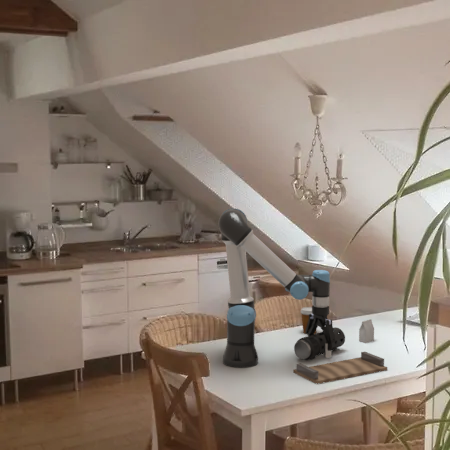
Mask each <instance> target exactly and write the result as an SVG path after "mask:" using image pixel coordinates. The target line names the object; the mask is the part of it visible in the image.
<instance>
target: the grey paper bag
mask: <svg viewBox="0 0 450 450" xmlns="http://www.w3.org/2000/svg"><path fill="white" fill-rule="evenodd" d="M358 330H359V331H358V333H359V335H358V342H360V343H364V344H368V343H370V342H374V340H375V327H374V324H373V320H372V319H367V320H364V321H362V322H361V325H360V327H359V329H358Z"/></svg>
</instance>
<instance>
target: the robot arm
mask: <svg viewBox="0 0 450 450" xmlns="http://www.w3.org/2000/svg"><path fill="white" fill-rule="evenodd" d="M217 223H218V224H217V225H218V230H219V231H220V236H221V237H220V238H221V242H222V243H224V244H225V252H226V253H225V254H226V262H227V272H228V281H229V292H230V298H229V299H228V300H227V307H228V308H227V314H226V319H227V320H226V324H227V325H226V346H225V349H224V352H223V355H222V363H223V364H224V365H225V366H229V367H231V368H232V367H234V368H249V367H253V366H257V364H259V356H258V352H257V349H256V346H255V345H256V344H255V326H256V325H255V324H256V319H257V311H256V308H255V307H256V306H255V299H254V297H252V295H251V292H250V283H249V272H248V271H249V269H248V260H247V254H249V256H250V257H251V258H253V260H254V261H256V262H257V263H258V264H259V265H260V266H261V267H262V268H263V269H264V270H265V271H267V273H268V274H270V276H272V277H273V278H274V279H275V281H277V282H278V283H279V284H280V285H282V286H283V288H284V290H285V291H286V292H288V293H290V295H291V297H293V298H294V299H295V300H303V299H306V297H307V296H308V295H309V293H311V304H312V306H311V307H312V314H309V320H308V323H307V327H306V330H305V333H306V335H307V336H311V335H314V333H315V331H316V332H317V329H318V327H319V328H320V329H321V330H322V332H323V333H324V336H325V339H326V343H325V353H324V358H325V359H328V358H331V357H332V351H331V350H332V343H334V342H336V341H335V336H334V331H333V328H334V327H333V320H332V319H328V316H329V314H330V293H331V292H330V290H331V289H330V288H331V278H330V277H331V276H330V274H331V273H330V272H329V271H328V270H325V269H315V270H313V271H312V273H311V274H297V273H296V272H295V271H294V270H293V269H292V268H290V267H289V266H288V264H286V263H285V261H283V260H282V259H281V258H280V257H278V255H277V254H275V252H273V250H272V249H270V248H269V246H268V245H266V244H265V243H264V242H263V241H262V240H260V238H258V237H257V235H255V234H254V230H253V229H252V228H251V227H250V226H249V225H248V218H247V215H246V214H245V212H244V211H242V210H241V209H238V208H228V209H225V211H223V213H222V214H221V215H220V216H219V219H218V222H217ZM305 333H304V334H305ZM315 334H316V333H315ZM332 339H333V340H332Z"/></svg>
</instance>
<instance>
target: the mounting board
mask: <svg viewBox="0 0 450 450" xmlns="http://www.w3.org/2000/svg"><path fill="white" fill-rule="evenodd" d="M295 365H296V366H295V367H296V368H294V369H293V370H292V371H293V374H295V375H297V376H300V377H302V378H304V379H306V380H308V381H310V382H312V383H314V384H316V383H317V384H316V385H319V384H318V383H320V384H324V383H323V382H325V383H330V382H334V381H340V380H344V378H345V379H350V378H354V377H359V376H365V375H369V374H370V375H371V374H374V372H375V373H379V371H380V372H384V370H385V371H388V367H387V366H385V358H382V357H380V356H377V355H375V354H372V353H370V352H367V351H361V355H360V357H355V358H349V359H344V360H338V361H333V362H327V363H321V364H317V365H311V366H307V365H305V364H304V363H301V362H298V363H295ZM364 374H365V375H364ZM329 381H330V382H329Z"/></svg>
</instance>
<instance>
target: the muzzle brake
mask: <svg viewBox="0 0 450 450" xmlns="http://www.w3.org/2000/svg"><path fill="white" fill-rule="evenodd" d="M333 331H334V336H335V341H336V342H334V343H332V350H331V352H333V351H335V350H337V349H338V348H340V347H342V346H343V345H344V344H345V342H346V335H345V333H344V331H343V330H342V329H341V328H339V327H333ZM332 340H333V339H332ZM325 343H326V339H325V336H324V333H323V331H320V332H318V333H317V332H316V333H315V334H314V335H311V336H308V335H307V336H303V337H301V338H299V339H298V340H297V341H296V343H294V347H293V351H294V355H295V356H296V357H297V358H298V359H300V360H305V361H308V360H313V359H316V357H317V356H319V355H325Z"/></svg>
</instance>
